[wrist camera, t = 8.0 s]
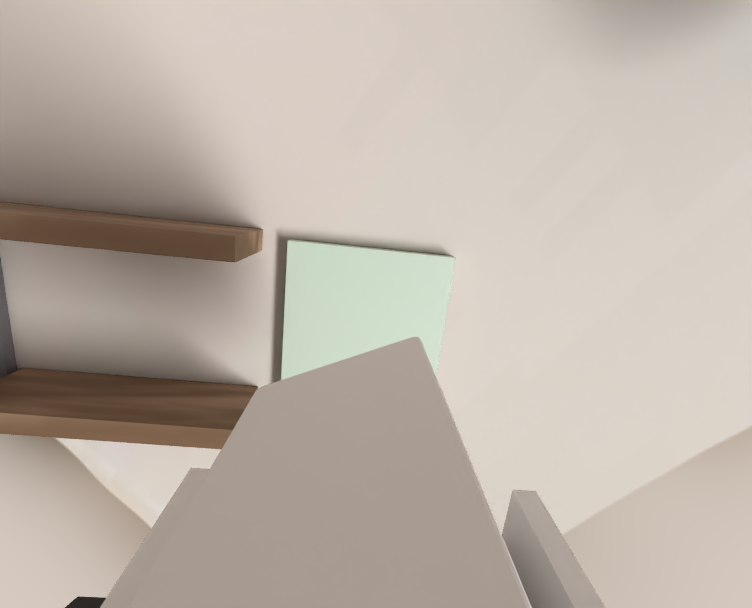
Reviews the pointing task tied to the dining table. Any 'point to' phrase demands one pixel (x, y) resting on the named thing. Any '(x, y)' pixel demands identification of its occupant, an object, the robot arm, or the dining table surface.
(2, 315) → the bin
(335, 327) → the pad
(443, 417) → the milk carton
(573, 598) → the robot arm
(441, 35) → the dining table surface
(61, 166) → the dining table surface
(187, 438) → the channel
